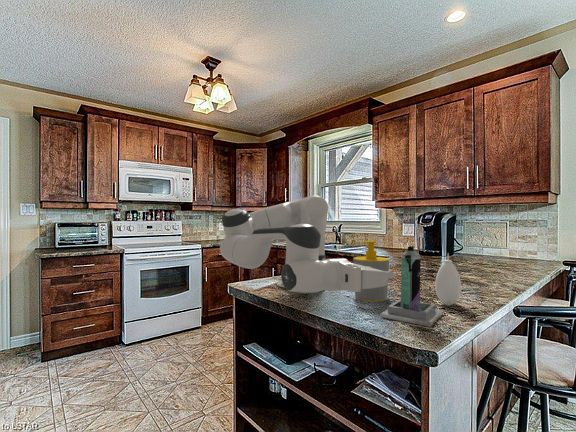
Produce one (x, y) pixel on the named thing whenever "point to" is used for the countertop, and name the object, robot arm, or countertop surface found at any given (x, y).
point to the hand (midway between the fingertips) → (381, 271)
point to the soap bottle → (376, 263)
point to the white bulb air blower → (448, 283)
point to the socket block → (413, 313)
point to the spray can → (410, 279)
